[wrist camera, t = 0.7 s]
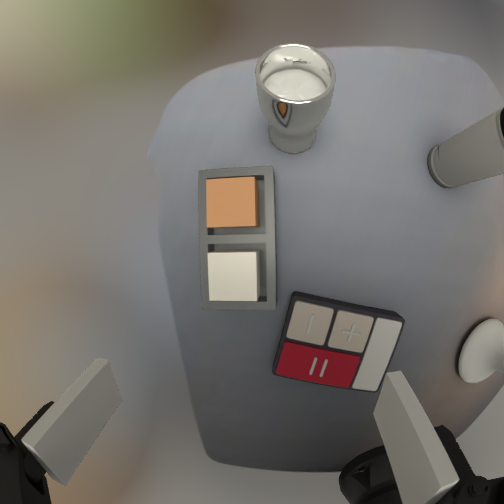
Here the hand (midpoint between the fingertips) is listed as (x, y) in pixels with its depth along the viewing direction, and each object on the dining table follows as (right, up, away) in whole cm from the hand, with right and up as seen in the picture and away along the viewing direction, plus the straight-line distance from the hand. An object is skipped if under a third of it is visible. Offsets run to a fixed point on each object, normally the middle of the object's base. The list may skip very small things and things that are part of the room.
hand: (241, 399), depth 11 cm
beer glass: (+6, +22, +22) cm, 32 cm away
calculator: (+12, -5, +24) cm, 27 cm away
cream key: (-1, +4, +21) cm, 22 cm away
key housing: (-1, +8, +24) cm, 25 cm away
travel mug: (+28, +19, +20) cm, 39 cm away
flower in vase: (+37, -9, +21) cm, 44 cm away
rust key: (-1, +12, +21) cm, 24 cm away
